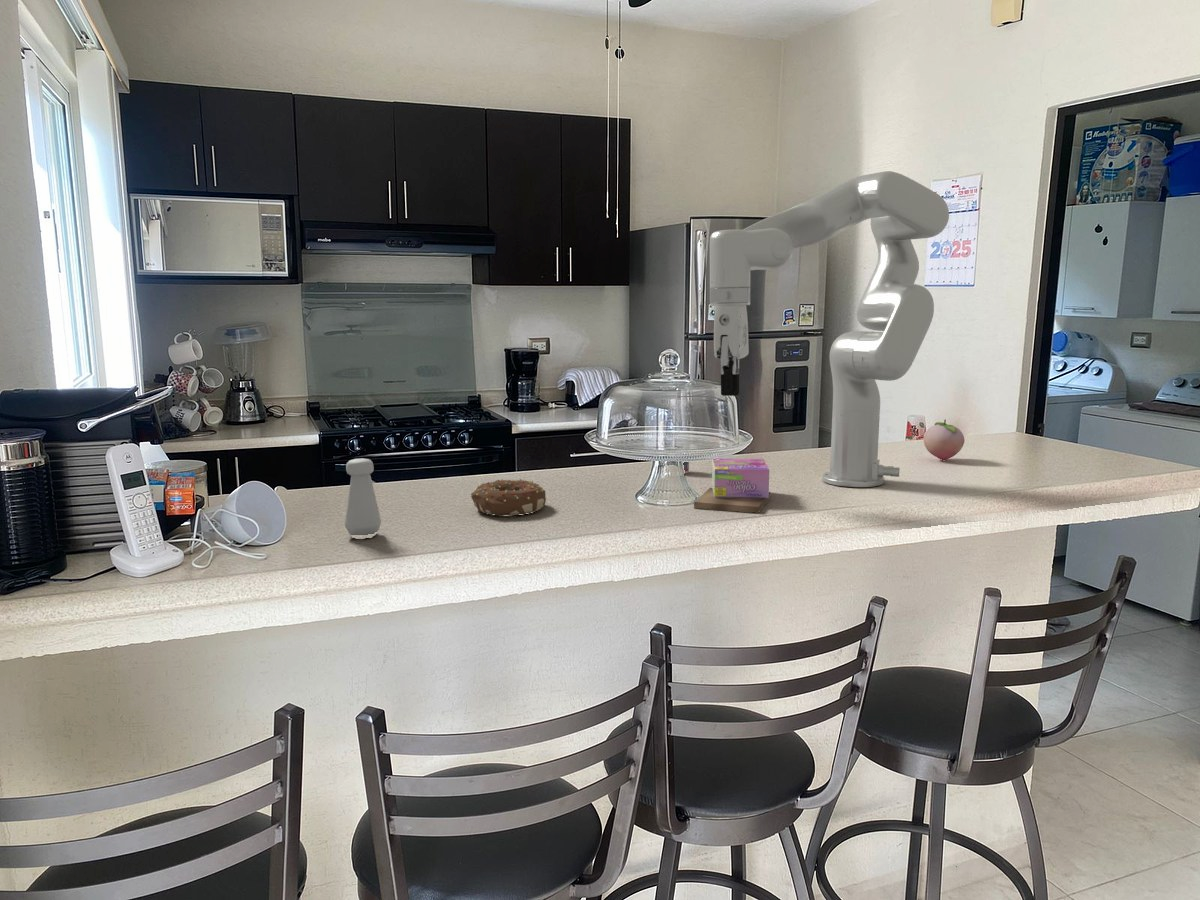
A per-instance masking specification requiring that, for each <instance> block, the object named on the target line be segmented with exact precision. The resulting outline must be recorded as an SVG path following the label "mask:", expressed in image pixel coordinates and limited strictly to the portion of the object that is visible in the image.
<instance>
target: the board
mask: <svg viewBox="0 0 1200 900" xmlns="http://www.w3.org/2000/svg"><path fill="white" fill-rule="evenodd" d="M770 499H771V491H769V498H714V494H713V488H712V487H709V488H708V489H707V490H706V491H705V492H703V494H701V495H700V496H699V497H698V498H696V500H695V501H693V509H697V508H703V509H702V510H710V509H715V510H714V511H723V510H726V511H725V512H735V511H739V513H748V512H755V513H754V514H759V513H760V512H761V510H762V509H763V508H764V507H763V506H766V504H767V503H768V502H769V500H770ZM759 511H760V512H759Z"/></svg>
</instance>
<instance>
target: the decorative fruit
mask: <svg viewBox="0 0 1200 900" xmlns="http://www.w3.org/2000/svg"><path fill="white" fill-rule="evenodd" d="M943 420H944V422H941V421H940V422H939V421H936V422H935V423H934V425H932V426H929V427H928V429H927V430H926V431H925V432H924V435H923V445H924V447H925V449H926V450H927V451H928V453H930V454H931V455H932V456H934V457H936V458H937V459H939V460H941V459H942V460H945V461H947V460H949V459H951V458H953V457H954V456H956V455H958V453H959V452H960V451H961V450H962V448H963V446H964V444H965V436H964V434H963V432H962V430H960V428H958V427H956V426H955V425H952V424H947V422H946V419H943ZM942 460H941V461H942Z"/></svg>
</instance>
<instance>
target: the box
mask: <svg viewBox="0 0 1200 900" xmlns="http://www.w3.org/2000/svg"><path fill="white" fill-rule="evenodd" d="M711 460H712V461H711V463H712V464H711V467H712V468H711V488H713V494H714V498H769V492H770V469H769V467H768V464H767V463H766V461H765V459H764V458H721V457H720V458H715V459H713V458H712V459H711Z"/></svg>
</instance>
